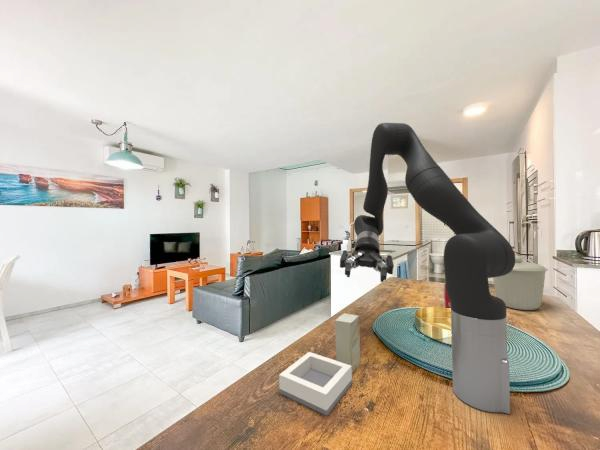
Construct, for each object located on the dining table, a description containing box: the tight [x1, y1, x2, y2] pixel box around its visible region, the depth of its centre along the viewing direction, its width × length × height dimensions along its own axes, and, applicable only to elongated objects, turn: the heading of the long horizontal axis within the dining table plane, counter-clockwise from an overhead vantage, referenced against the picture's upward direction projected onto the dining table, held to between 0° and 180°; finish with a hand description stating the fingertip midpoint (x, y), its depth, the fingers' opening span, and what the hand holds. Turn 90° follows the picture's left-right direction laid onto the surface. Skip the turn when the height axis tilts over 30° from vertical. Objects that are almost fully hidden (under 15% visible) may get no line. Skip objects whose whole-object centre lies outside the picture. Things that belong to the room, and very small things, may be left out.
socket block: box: [278, 351, 353, 417], centre depth 55 cm, size 12×12×4 cm
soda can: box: [443, 281, 451, 309], centre depth 100 cm, size 7×7×12 cm
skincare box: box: [334, 312, 361, 374], centre depth 63 cm, size 6×4×12 cm
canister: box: [493, 254, 549, 311], centre depth 104 cm, size 18×18×21 cm
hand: (365, 276), depth 65 cm, fingers open, 8 cm apart
